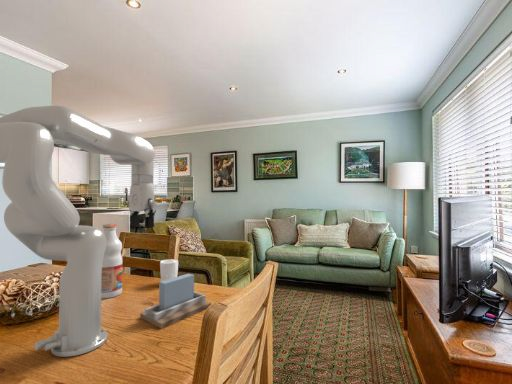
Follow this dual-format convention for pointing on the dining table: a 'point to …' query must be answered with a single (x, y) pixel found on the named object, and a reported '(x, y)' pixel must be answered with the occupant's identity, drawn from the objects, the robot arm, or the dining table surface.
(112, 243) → the fruit juice
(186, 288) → the plain gray rectangular block
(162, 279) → the white cup
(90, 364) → the dining table surface
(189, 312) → the track plinth
